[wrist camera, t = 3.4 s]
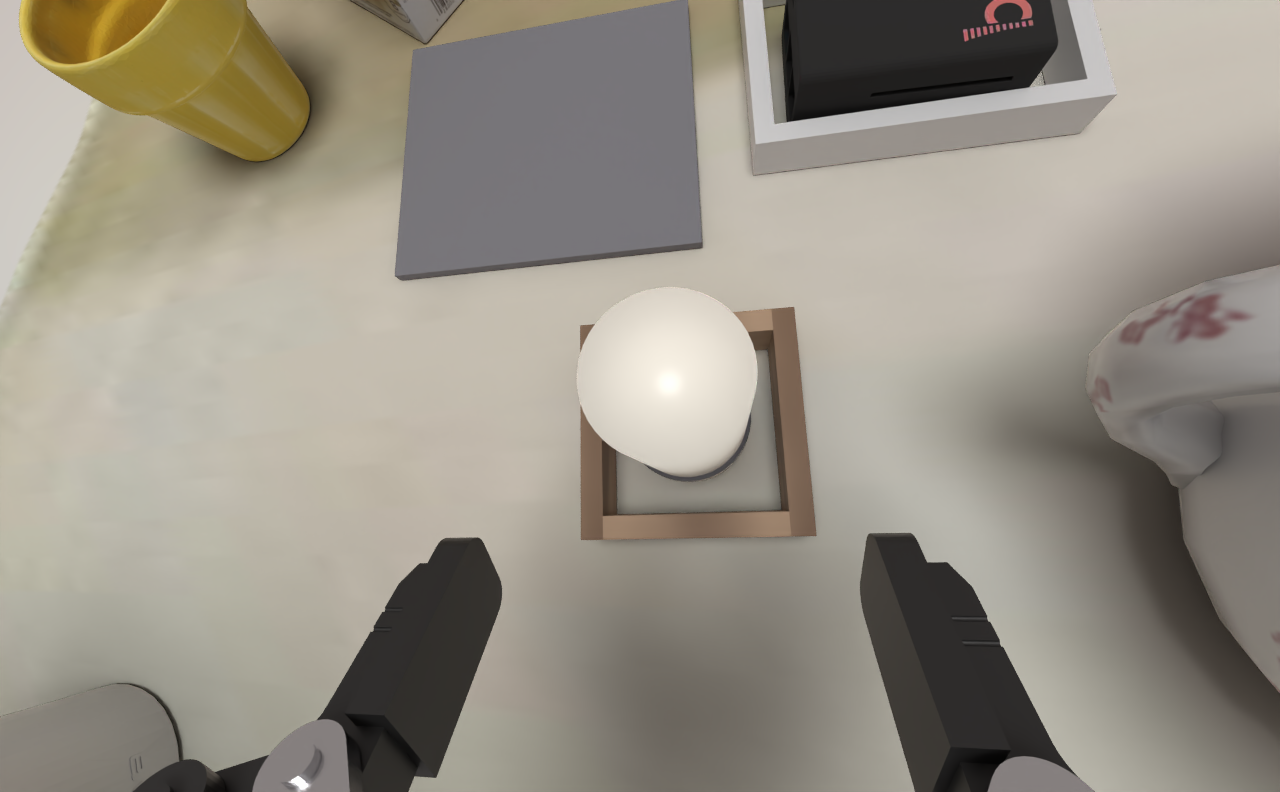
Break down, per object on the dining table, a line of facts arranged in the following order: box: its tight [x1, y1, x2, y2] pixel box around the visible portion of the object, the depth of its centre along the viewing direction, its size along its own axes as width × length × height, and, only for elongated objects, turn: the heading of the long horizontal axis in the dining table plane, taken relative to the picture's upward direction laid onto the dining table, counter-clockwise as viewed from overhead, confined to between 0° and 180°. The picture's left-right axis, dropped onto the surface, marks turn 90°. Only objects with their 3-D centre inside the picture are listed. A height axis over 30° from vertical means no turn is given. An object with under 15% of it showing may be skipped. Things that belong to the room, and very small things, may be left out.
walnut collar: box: [580, 307, 816, 540], centre depth 24 cm, size 10×10×3 cm
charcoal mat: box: [395, 0, 702, 280], centre depth 30 cm, size 18×16×1 cm
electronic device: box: [782, 0, 1058, 122], centre depth 25 cm, size 7×11×5 cm
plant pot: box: [19, 0, 310, 161], centre depth 30 cm, size 10×10×10 cm
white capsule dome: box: [576, 287, 758, 482], centre depth 20 cm, size 5×5×12 cm
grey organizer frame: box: [738, 0, 1117, 175], centre depth 26 cm, size 16×12×2 cm
